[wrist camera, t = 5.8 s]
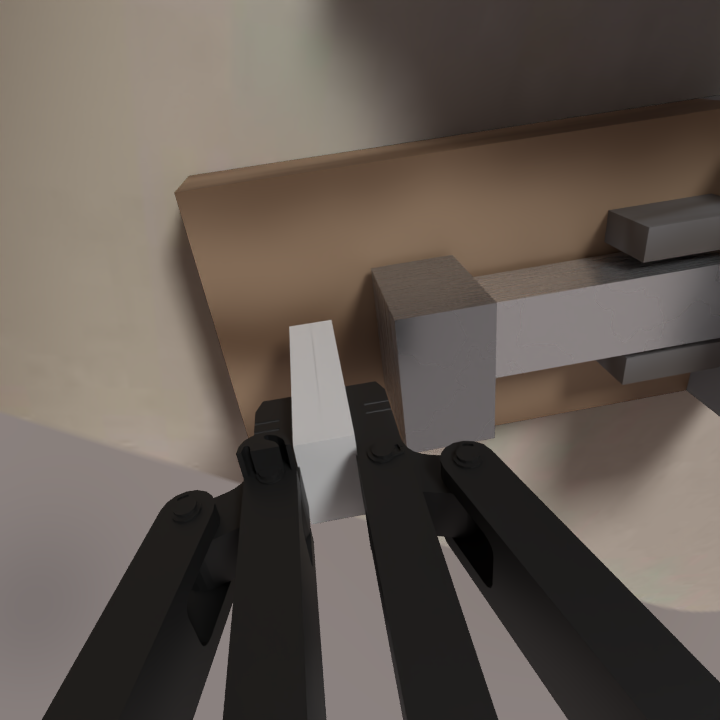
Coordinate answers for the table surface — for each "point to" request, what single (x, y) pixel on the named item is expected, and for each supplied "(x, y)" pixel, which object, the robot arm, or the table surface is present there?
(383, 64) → the table surface
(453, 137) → the door leaf
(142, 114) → the table surface
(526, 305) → the bolt
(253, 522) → the robot arm
